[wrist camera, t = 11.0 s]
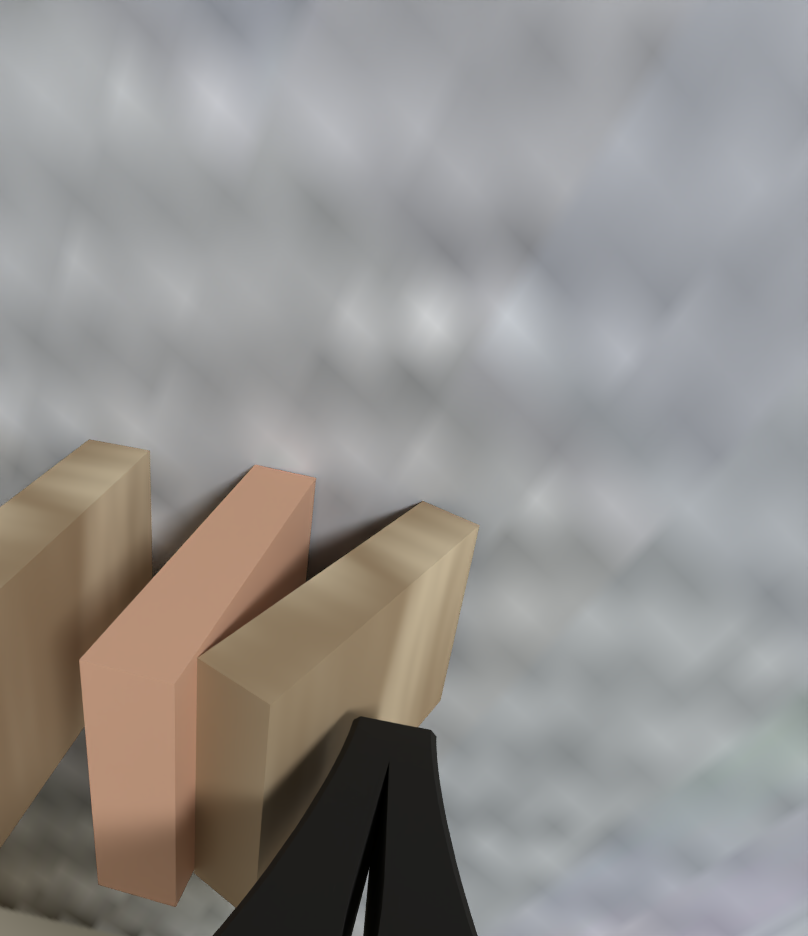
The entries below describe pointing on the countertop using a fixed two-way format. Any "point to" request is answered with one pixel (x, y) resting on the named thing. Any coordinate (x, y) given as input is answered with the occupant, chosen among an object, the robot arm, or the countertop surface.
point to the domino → (179, 677)
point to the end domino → (320, 685)
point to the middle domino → (63, 602)
